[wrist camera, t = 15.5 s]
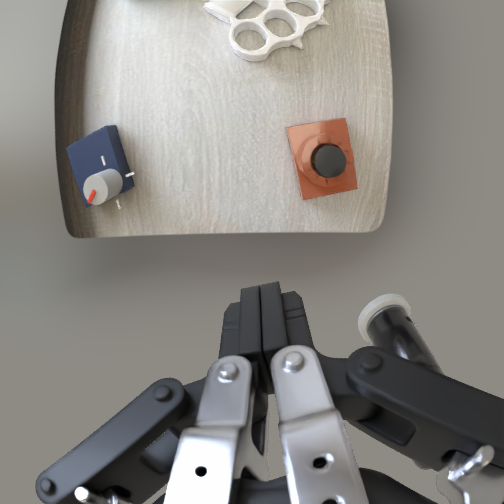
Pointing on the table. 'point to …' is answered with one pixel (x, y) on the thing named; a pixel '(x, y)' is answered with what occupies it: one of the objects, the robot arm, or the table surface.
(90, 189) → the dial
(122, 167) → the dial panel
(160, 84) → the table surface
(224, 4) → the white brass knuckles
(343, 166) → the dark grey short cylinder
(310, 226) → the table surface
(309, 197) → the button base
